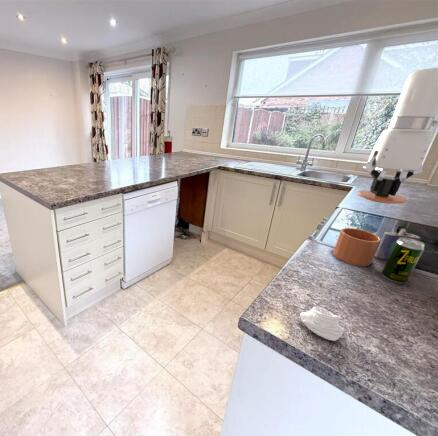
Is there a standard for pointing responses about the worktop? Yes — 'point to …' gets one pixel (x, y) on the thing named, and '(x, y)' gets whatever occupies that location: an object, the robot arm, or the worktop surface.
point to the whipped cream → (323, 323)
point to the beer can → (402, 260)
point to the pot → (356, 246)
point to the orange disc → (383, 194)
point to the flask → (391, 243)
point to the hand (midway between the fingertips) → (382, 193)
